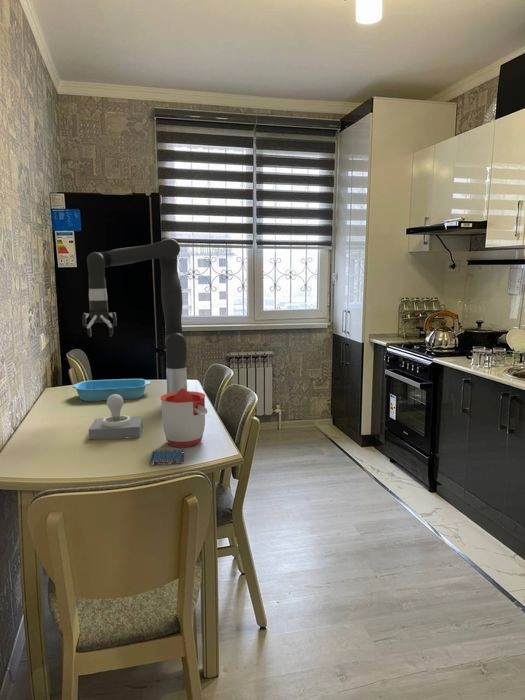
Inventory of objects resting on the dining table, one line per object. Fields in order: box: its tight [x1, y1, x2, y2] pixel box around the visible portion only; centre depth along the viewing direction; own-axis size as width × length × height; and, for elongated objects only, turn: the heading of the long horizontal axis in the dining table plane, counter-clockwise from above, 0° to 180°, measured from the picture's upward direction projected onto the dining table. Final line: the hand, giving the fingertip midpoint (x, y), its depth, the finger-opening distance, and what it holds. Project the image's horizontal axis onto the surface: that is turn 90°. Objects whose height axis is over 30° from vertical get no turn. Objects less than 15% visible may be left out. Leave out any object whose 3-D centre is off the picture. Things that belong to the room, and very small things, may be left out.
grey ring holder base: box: [88, 414, 144, 440], centre depth 187 cm, size 18×14×6 cm
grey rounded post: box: [106, 394, 125, 422], centre depth 186 cm, size 6×6×11 cm
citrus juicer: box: [160, 388, 208, 448], centre depth 174 cm, size 16×17×20 cm
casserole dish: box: [72, 378, 151, 402], centre depth 244 cm, size 37×22×7 cm, turn 103°
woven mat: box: [149, 449, 185, 466], centre depth 160 cm, size 10×11×2 cm
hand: (100, 336), depth 215 cm, fingers open, 8 cm apart
